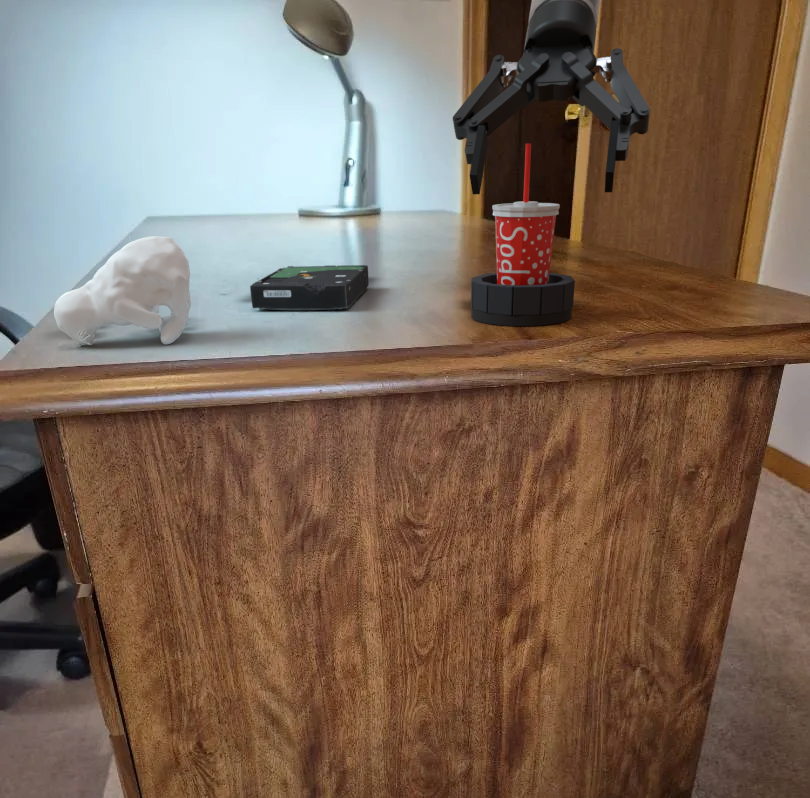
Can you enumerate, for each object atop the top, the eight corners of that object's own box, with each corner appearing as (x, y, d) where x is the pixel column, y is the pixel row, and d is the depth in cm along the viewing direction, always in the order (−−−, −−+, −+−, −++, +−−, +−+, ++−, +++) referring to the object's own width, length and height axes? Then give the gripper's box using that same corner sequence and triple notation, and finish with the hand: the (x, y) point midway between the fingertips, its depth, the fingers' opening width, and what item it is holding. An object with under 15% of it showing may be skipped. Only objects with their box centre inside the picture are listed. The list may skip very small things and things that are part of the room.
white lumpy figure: (183, 235, 65) (30, 258, 62) (207, 339, 69) (64, 364, 66) (179, 229, 70) (39, 250, 68) (202, 325, 74) (69, 348, 72)
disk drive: (350, 313, 81) (369, 287, 94) (348, 284, 80) (368, 263, 93) (251, 313, 82) (284, 288, 95) (248, 285, 81) (282, 263, 94)
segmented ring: (592, 318, 75) (595, 280, 73) (508, 330, 71) (509, 290, 69) (531, 304, 82) (533, 268, 81) (452, 314, 78) (452, 277, 77)
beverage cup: (476, 304, 77) (479, 144, 71) (525, 297, 80) (532, 143, 74) (517, 314, 72) (524, 143, 66) (567, 306, 75) (578, 142, 69)
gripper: (676, 52, 87) (664, 208, 81) (455, 64, 93) (427, 211, 87) (685, -14, 80) (672, 151, 74) (445, 4, 86) (415, 158, 80)
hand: (540, 184), depth 80 cm, fingers open, 13 cm apart
